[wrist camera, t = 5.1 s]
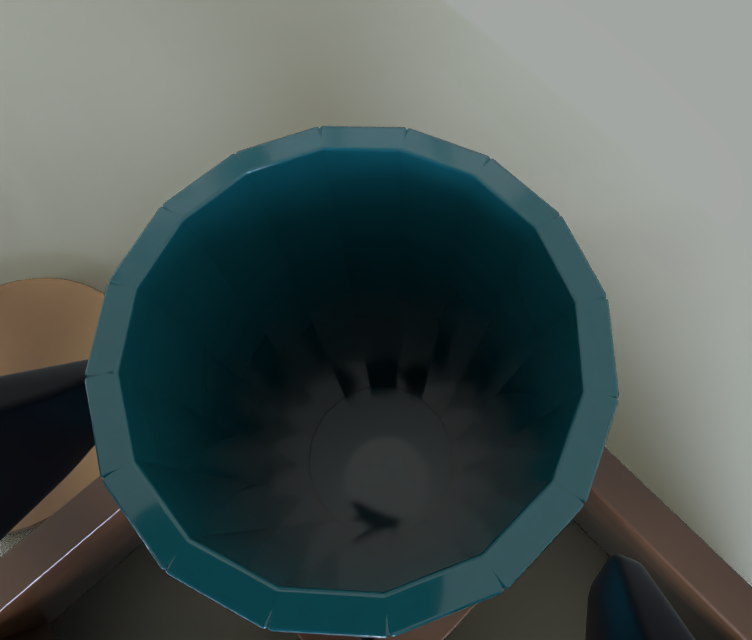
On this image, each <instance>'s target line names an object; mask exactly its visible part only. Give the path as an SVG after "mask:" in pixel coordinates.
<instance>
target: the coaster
mask: <svg viewBox="0 0 752 640" xmlns="http://www.w3.org/2000/svg"><path fill="white" fill-rule="evenodd" d="M103 299H104V294H103V293H101V292H99V291H97V290H96V289H94V288H92V287H89V286H87V285H84V284H81V283H79V282H75V281H70V280H66V279H57V278H32V279H25V280H19V281H15V282H11V283H7V284H3V285H0V376H3V375H9V374H14V373H19V372H24V371H29V370H35V369H40V368H45V367H50V366H55V365H61V364H66V363H71V362H76V361H81V360H87V359H89V355H90V351H91V347H92V343H93V339H94V335H95V331H96V327H97V323H98V319H99V315H100V311H101V307H102V303H103ZM99 476H100V472H99V466H98V460H97V454H96V448H95V445H94V447H93V448H92V449H91V450H90V451H89V452H88V454H87V455H86V456H85V457H84V458H83V459H82V461H81V462H80V463H79V464H78V465H77V466H76V467H75V468H74V469H73V471H72V472H71V473H70V474H69V475H68V476H67V477H66V478H65V479H64V480H63V481H62V482H61V483H60V484H59V485H58V486H57V487H56V488H55V489H54V490H53V491H51V492H50V493H49V494H48V495H47V496H46V497H45V498H44V499H43V500H42V501H41V502H40V503H39V504H38V505H37V506H36V507H35V508H34V509H33V510H32V511H31V512H30V513H29V514H27V515H26V516H25V517H24V518H23V519H22V520H21V521H20V522H19V523H18V524H17V525H16V526H15V527H14V528H13V529H12V530H11V531H10V532H9V533H8V534H11V533H17V532H23V531H26V530H29V529H33V528H36V527H38V526H39V525H41V524H42V523H43V522H44V521H46V520H47V519H48V518H49V517H50V516H52V515H53V514H54V513H55V512H56V511H58V510H59V509H60V508H61V507H63V506H64V505H65V504H66V503H67V502H69V501H70V500H71V499H72V498H73V497H75V496H76V495H77V494H78V493H80V492H81V491H82V490H83V489H84V488H86V487H87V486H88V485H89V484H90V483H92V482H93V481H94V480H95V479H96V478H98V477H99Z"/></svg>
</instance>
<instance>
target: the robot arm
mask: <svg viewBox="0 0 752 640" xmlns="http://www.w3.org/2000/svg"><path fill="white" fill-rule="evenodd" d="M87 363H88V359H87V360H81V361H76V362H71V363H66V364H61V365H55V366H50V367H45V368H40V369H35V370H29V371H24V372H19V373H14V374H9V375H3V376H0V540H1V539H2V538H4V537H5V536H6V535H7V534H8V533H9V532H10V531H11V530H12V529H13V528H14V527H15V526H16V525H17V524H18V523H19V522H20V521H21V520H22V519H23V518H24V517H25V516H26V515H27V514H29V513H30V512H31V511H32V510H33V509H34V508H35V507H36V506H37V505H38V504H39V503H40V502H41V501H42V500H43V499H44V498H45V497H46V496H47V495H48V494H49V493H50V492H51V491H53V490H54V489H55V488H56V487H57V486H58V485H59V484H60V483H61V482H62V481H63V480H64V479H65V478H66V477H67V476H68V475H69V474H70V473H71V472H72V471H73V469H74V468H75V467H76V466H77V465H78V464H79V463H80V462H81V461H82V459H83V458H84V457H85V456H86V455H87V454H88V452H89V451H90V450H91V449H92V448H93V447H94V445H95V442H94V435H93V429H92V423H91V417H90V411H89V405H88V398H87V392H86V386H85V378H87V377H86V376H85V372H86V367H87ZM585 640H695V638H694V637H693V636H692V634H691V633H690V631H689V630H688V628H687V627H686V626H685V624H684V623H683V621H682V620H681V618H680V617H679V616H678V614H677V613H676V611H675V610H674V609H673V607H672V606H671V604H670V603H669V601H668V600H667V599H666V597H665V596H664V594H663V593H662V592H661V590H660V589H659V587H658V586H657V584H656V583H655V582H654V580H653V579H652V577H651V576H650V574H649V573H648V572H647V570H646V569H645V567H644V566H643V565H642V564H641V563H640V562H638V561H636V560H633V559H631V558H628V557H626V556H623V555H621V554H613V555H611V556H610V557H609V559H608V560H607V562H606V563H605V565H604V566H603V568H602V569H601V571H600V572H599V574H598V576H597V577H596V579H595V580H594V582H593V583H592V585H591V588H590V591H589V595H588V606H587V622H586V639H585Z"/></svg>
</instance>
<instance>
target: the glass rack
mask: <svg viewBox="0 0 752 640" xmlns="http://www.w3.org/2000/svg"><path fill="white" fill-rule="evenodd" d="M102 480H103V479H102V478H101V476H99V477H98V478H96V479H95V480H94V481H93V482H92V483H90V484H89V485H88V486H87V487H86V488H84V489H83V490H82V491H81V492H80V493H78V494H77V495H76V496H75V497H73V498H72V499H71V500H70V501H69V502H67V503H66V504H65V505H64V506H63V507H61V508H60V509H59V510H58V511H56V512H55V513H54V514H53V515H52V516H50V517H49V518H48V519H47V520H46V521H44V522H43V523H42V524H41V525H39V526H38V527H37V528H36V529H35V530H33V531H32V532H31V533H30V534H29V535H27V536H26V537H25V538H24V539H23V540H21V541H20V542H19V543H18V544H16V545H15V546H14V547H13V548H12V549H10V550H9V551H8V552H7V553H6V554H4V555H3V556H2V557H1V558H0V640H59V639H58V637H57V636H56V634H55V632H54V631H53V629H52V627H51V626H50V624H49V623H51V622H52V621H53V620H54V619H56V618H57V617H58V616H59V615H60V614H61V613H62V612H64V611H65V610H66V609H67V608H68V607H69V606H70V605H72V604H73V603H74V602H75V601H76V600H77V599H78V598H80V597H81V596H82V595H83V594H84V593H85V592H87V591H88V590H89V589H90V588H91V587H92V586H93V585H95V584H96V583H97V582H98V581H99V580H100V579H101V578H103V577H104V576H105V575H106V574H107V573H108V572H109V571H111V570H112V569H113V568H114V567H115V566H116V565H117V564H119V563H120V562H121V561H122V560H123V559H124V558H125V557H127V556H128V555H129V554H130V553H131V552H132V551H133V550H135V549H136V548H137V547H138V546H139V545H140V544H141V543H143V541H142V540H141V538H140V537H139V536H138V534H137V533H136V531H135V530H134V528H133V527H132V525H131V524H130V522H129V521H128V519H127V518H126V516H125V515H124V513H123V512H122V511H121V509H120V508H119V506H118V505H117V503H116V502H115V500H114V499H113V497H112V496H111V494H110V493H109V491H108V490H107V488H106V487H105V486H104V484H103V481H102ZM583 504H584V506H583V508H582V509H581V511H580V512H579V513H578V514H577V515H576V516H575V517H574V518H573V520H574V521H575V522H576V523H577V524H578V525H579V526H580V527H581V528H582V529H583V530H584V531H585V532H586V533H587V534H588V535H589V536H590V537H591V538H592V539H593V540H594V541H595V542H596V543H597V544H598V545H599V546H600V547H601V548H602V549H603V550H604V551H605V552H606V553H607V554H608V555H609V556H611V555H613V554H621V555H623V556H626V557H628V558H631V559H633V560H636V561H638V562H640V563H641V564H642V565H643V566H644V567H645V569H646V570H647V572H648V573H649V574H650V576H651V577H652V579H653V580H654V582H655V583H656V584H657V586H658V587H659V589H660V590H661V592H662V593H663V594H664V596H665V597H666V599H667V600H668V601H669V603H670V604H671V606H672V607H673V609H674V610H675V611H676V613H677V614H678V616H679V617H680V618H681V620H682V621H683V623H684V624H685V626H686V627H687V628H688V630H689V631H690V633H691V634H692V636H693V637H694V638H695V640H752V586H750V585H749V584H748V583H747V582H746V581H745V580H744V579H743V578H742V577H741V576H740V575H739V574H738V573H737V572H736V571H735V570H734V569H733V568H732V567H730V566H729V565H728V564H727V563H726V562H725V561H724V560H723V559H722V558H721V557H720V556H719V555H718V554H717V553H716V552H715V551H714V550H713V549H712V548H710V547H709V546H708V545H707V544H706V543H705V542H704V541H703V540H702V539H701V538H700V537H699V536H698V535H697V534H696V533H695V532H694V531H693V530H692V529H690V528H689V527H688V526H687V525H686V524H685V523H684V522H683V521H682V520H681V519H680V518H679V517H678V516H677V515H676V514H675V513H674V512H673V511H672V510H671V509H669V508H668V507H667V506H666V505H665V504H664V503H663V502H662V501H661V500H660V499H659V498H658V497H657V496H656V495H655V494H654V493H653V492H652V491H651V490H649V489H648V488H647V487H646V486H645V485H644V484H643V483H642V482H641V481H640V480H639V479H638V478H637V477H636V476H635V475H634V474H633V473H632V472H631V471H629V470H628V469H627V468H626V467H625V466H624V465H623V464H622V463H621V462H620V461H619V460H618V459H617V458H616V457H615V456H614V455H613V454H612V453H611V452H609V451H608V450H607V449H606V448H605V447H604V450H603V453H602V456H601V459H600V462H599V465H598V468H597V471H596V475H595V478H594V481H593V484H592V487H591V490H590V493H589V497H588V500H587V501H586V502H585V503H583ZM476 605H477V604H475V605H473V606H470V607H468V608H466V609H463V610H461V611H458V612H456V613H453V614H451V615H448V616H446V617H443V618H441V619H438V620H436V621H434V622H431V623H429V624H426V625H424V626H421V627H419V628H416V629H414V630H411V631H409V632H406V633H404V634H402V635H399V636H397V637H391V636H390V635H389V637H388V638H385V639H382V638H366V637H351V636H335V635H319V634H303V633H296V634H297V635H298V637H299V638H300V639H301V640H444V639H445V638H446V637H447V636H448V635H449V634H450V632H451V631H452V630H453V629H454V628H455V627H456V626H457V625H458V624H459V623H460V622H461V621H462V620H463V618H464V617H465V616H466V615H467V614H468V613H469V612H470V611H471V610H472V609H473V608H474V607H475V606H476Z"/></svg>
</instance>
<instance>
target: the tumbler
mask: <svg viewBox="0 0 752 640" xmlns="http://www.w3.org/2000/svg"><path fill="white" fill-rule="evenodd" d="M109 282H110V283H109V284H107V287H106V291H105V295H104V299H103V303H102V307H101V311H100V315H99V319H98V323H97V327H96V331H95V335H94V339H93V343H92V347H91V351H90V355H89V359H88V363H87V367H86V372H85V376H86V377H87V378H85V386H86V392H87V398H88V405H89V411H90V417H91V423H92V429H93V435H94V442H95V448H96V454H97V460H98V466H99V472H100V476H101V478H102V479H103V480H102V481H103V484H104V486H105V487H106V488H107V490H108V491H109V493H110V494H111V496H112V497H113V499H114V500H115V502H116V503H117V505H118V506H119V508H120V509H121V511H122V512H123V513H124V515H125V516H126V518H127V519H128V521H129V522H130V524H131V525H132V527H133V528H134V530H135V531H136V533H137V534H138V536H139V537H140V538H141V540H142V541H143V543H144V544H145V546H146V547H147V549H148V550H149V552H150V553H151V555H152V556H153V558H154V559H155V561H156V562H157V563H158V565H159V566H160V568H161V569H163V570H165V572H166V573H167V575H169V576H171V577H172V578H174V579H176V580H178V581H179V582H181V583H183V584H185V585H186V586H188V587H190V588H192V589H193V590H195V591H197V592H199V593H200V594H202V595H204V596H206V597H207V598H209V599H211V600H213V601H214V602H216V603H218V604H220V605H221V606H223V607H225V608H227V609H228V610H230V611H232V612H234V613H235V614H237V615H239V616H241V617H242V618H244V619H246V620H248V621H249V622H251V623H253V624H255V625H256V626H258V627H260V628H262V629H266V628H267V627H268V630H270V631H272V632H288V633H303V634H319V635H335V636H351V637H366V638H382V639H385V638H388V637H389V635H390V636H391V637H397V636H399V635H402V634H404V633H406V632H409V631H411V630H414V629H416V628H419V627H421V626H424V625H426V624H429V623H431V622H434V621H436V620H438V619H441V618H443V617H446V616H448V615H451V614H453V613H456V612H458V611H461V610H463V609H466V608H468V607H470V606H473V605H475V604H478V603H480V602H483V601H485V600H488V599H490V598H493V597H495V596H498V595H500V594H501V593H502V592H503V589H504V590H506V589H509V588H510V587H511V586H512V585H513V583H514V582H515V581H516V580H517V579H518V578H519V577H520V576H521V575H522V574H523V573H524V571H525V570H526V569H527V568H528V567H529V566H530V565H531V564H532V563H533V562H534V561H535V560H536V558H537V557H538V556H539V555H540V554H541V553H542V552H543V551H544V550H545V549H546V548H547V546H548V545H549V544H550V543H551V542H552V541H553V540H554V539H555V538H556V537H557V536H558V535H559V533H560V532H561V531H562V530H563V529H564V528H565V527H566V526H567V525H568V524H569V523H570V521H571V520H572V519H573V518H574V517H575V516H576V515H577V514H578V513H579V512H580V511H581V509H582V508H583V506H584V504H583V503H585V502H586V501H587V500H588V497H589V493H590V490H591V487H592V484H593V481H594V478H595V475H596V471H597V468H598V465H599V462H600V459H601V456H602V453H603V450H604V446H605V443H606V440H607V437H608V434H609V431H610V428H611V424H612V421H613V418H614V415H615V412H616V409H617V406H618V400H617V398H618V396H619V392H618V383H617V374H616V365H615V357H614V348H613V339H612V330H611V321H610V313H609V304H608V300H607V299H605V298H606V293H605V292H604V290H603V288H602V286H601V284H600V283H599V281H598V279H597V277H596V276H595V274H594V272H593V270H592V269H591V267H590V265H589V263H588V261H587V260H586V258H585V256H584V254H583V253H582V251H581V249H580V247H579V245H578V244H577V242H576V240H575V238H574V237H573V235H572V233H571V231H570V229H569V228H568V226H567V224H566V222H565V221H564V219H563V217H562V216H560V215H559V213H558V212H557V211H556V210H555V209H554V208H552V207H551V206H550V205H549V204H548V203H546V202H545V201H544V200H543V199H541V198H540V197H539V196H538V195H537V194H535V193H534V192H533V191H532V190H530V189H529V188H528V187H527V186H526V185H524V184H523V183H522V182H521V181H519V180H518V179H517V178H516V177H515V176H513V175H512V174H511V173H510V172H508V171H507V170H506V169H505V168H504V167H502V166H501V165H500V164H499V163H497V162H496V161H495V160H494V159H490V158H489V157H488V156H486V155H484V154H481V153H478V152H475V151H472V150H470V149H467V148H464V147H461V146H458V145H455V144H453V143H450V142H447V141H444V140H441V139H439V138H436V137H433V136H430V135H427V134H424V133H422V132H419V131H416V130H413V129H406V128H404V127H345V126H322V127H320V128H319V127H315V128H312V129H308V130H305V131H302V132H299V133H296V134H292V135H289V136H286V137H283V138H280V139H276V140H273V141H270V142H267V143H263V144H260V145H257V146H254V147H251V148H247V149H244V150H241V151H238V152H237V153H236V154H232V155H231V156H229V157H228V158H226V159H225V160H224V161H222V162H221V163H219V164H218V165H217V166H215V167H214V168H212V169H211V170H210V171H208V172H207V173H205V174H204V175H203V176H201V177H200V178H199V179H197V180H196V181H194V182H193V183H192V184H190V185H189V186H187V187H186V188H185V189H183V190H182V191H180V192H179V193H178V194H176V195H175V196H173V197H172V198H171V199H169V200H168V201H166V202H165V203H164V204H163V207H160V208H159V209H158V211H157V212H156V213H155V215H154V216H153V218H152V219H151V221H150V222H149V223H148V225H147V226H146V228H145V229H144V231H143V232H142V234H141V235H140V236H139V238H138V239H137V241H136V242H135V244H134V245H133V246H132V248H131V249H130V251H129V252H128V254H127V255H126V256H125V258H124V259H123V261H122V262H121V264H120V265H119V266H118V268H117V269H116V271H115V272H114V274H113V275H112V276H111V278H110V280H109Z"/></svg>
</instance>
